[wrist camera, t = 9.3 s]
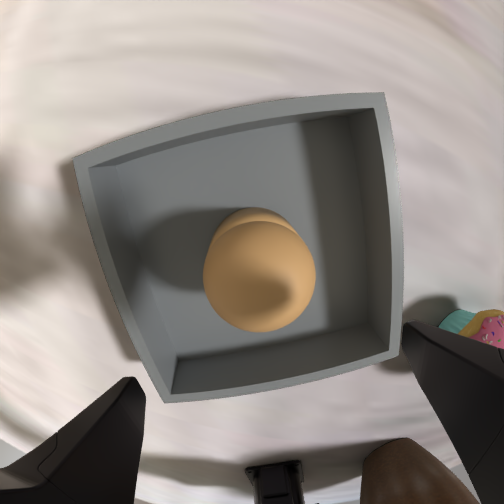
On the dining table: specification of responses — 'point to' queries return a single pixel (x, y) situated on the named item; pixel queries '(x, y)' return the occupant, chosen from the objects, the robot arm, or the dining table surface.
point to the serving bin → (240, 197)
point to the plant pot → (409, 477)
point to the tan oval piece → (258, 271)
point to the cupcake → (477, 326)
